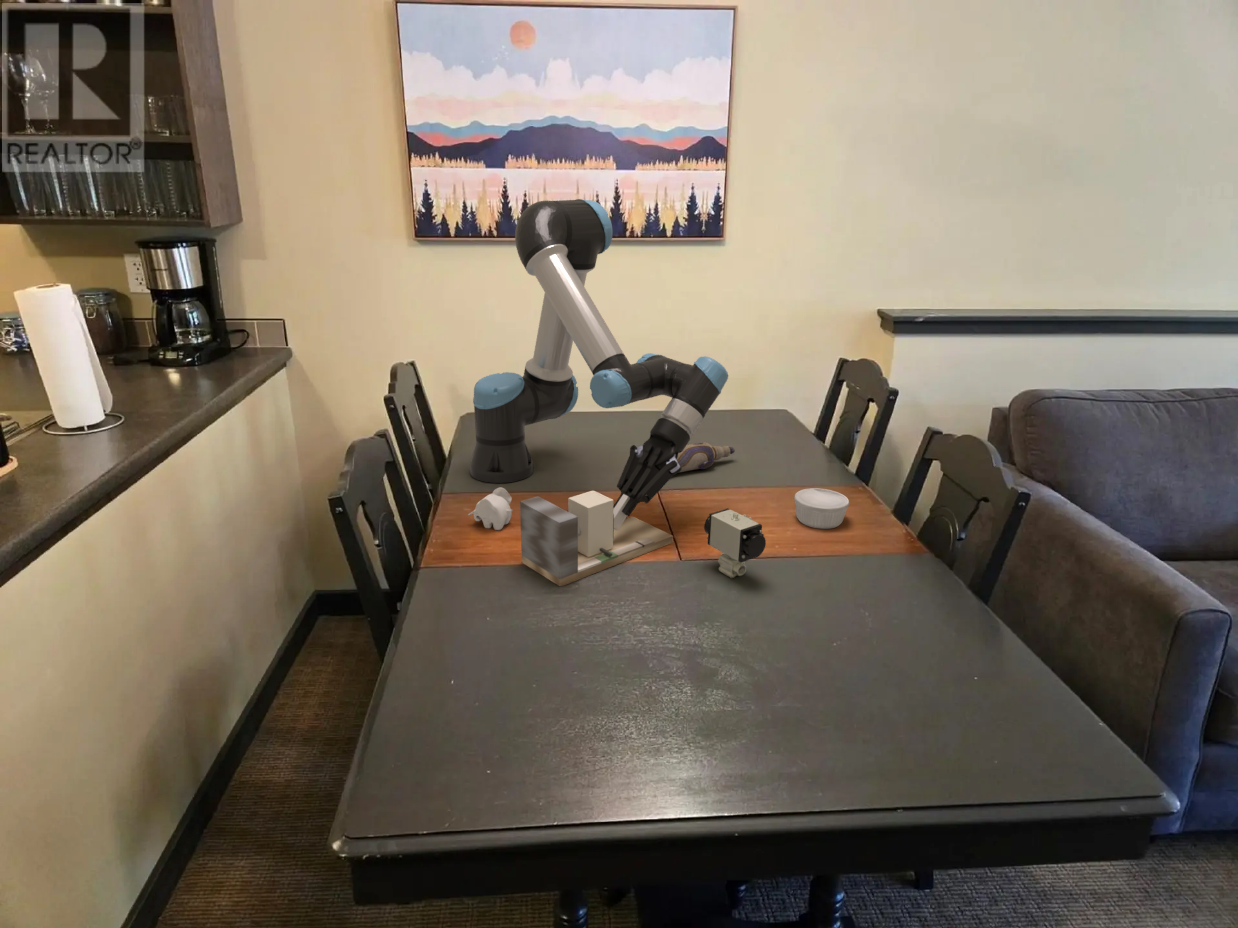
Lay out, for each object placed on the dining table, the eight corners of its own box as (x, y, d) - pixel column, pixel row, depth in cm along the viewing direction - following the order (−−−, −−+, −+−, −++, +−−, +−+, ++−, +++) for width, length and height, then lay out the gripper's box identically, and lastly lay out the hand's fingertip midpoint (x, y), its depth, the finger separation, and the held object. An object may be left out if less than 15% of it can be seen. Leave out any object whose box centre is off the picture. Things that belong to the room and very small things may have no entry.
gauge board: (521, 562, 152) (519, 501, 148) (632, 522, 170) (633, 467, 165) (560, 586, 144) (559, 522, 139) (672, 542, 161) (675, 484, 157)
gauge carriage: (562, 548, 154) (561, 499, 151) (595, 536, 159) (595, 489, 156) (592, 565, 148) (592, 515, 144) (625, 552, 153) (626, 504, 149)
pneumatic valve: (744, 589, 144) (749, 528, 140) (701, 563, 153) (704, 505, 149) (766, 580, 147) (771, 520, 143) (722, 556, 156) (726, 499, 152)
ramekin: (850, 515, 175) (853, 493, 173) (841, 535, 166) (844, 512, 164) (799, 506, 179) (801, 484, 178) (787, 525, 170) (789, 502, 168)
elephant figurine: (480, 513, 173) (479, 483, 170) (521, 520, 170) (520, 489, 167) (462, 528, 166) (460, 496, 164) (504, 535, 163) (503, 503, 161)
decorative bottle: (653, 483, 191) (654, 456, 189) (638, 473, 197) (638, 447, 195) (742, 466, 202) (744, 441, 200) (725, 457, 209) (727, 432, 206)
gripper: (708, 445, 159) (644, 546, 154) (661, 429, 168) (600, 524, 163) (690, 424, 154) (623, 528, 149) (643, 409, 163) (579, 506, 158)
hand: (611, 526), depth 156 cm, fingers closed
